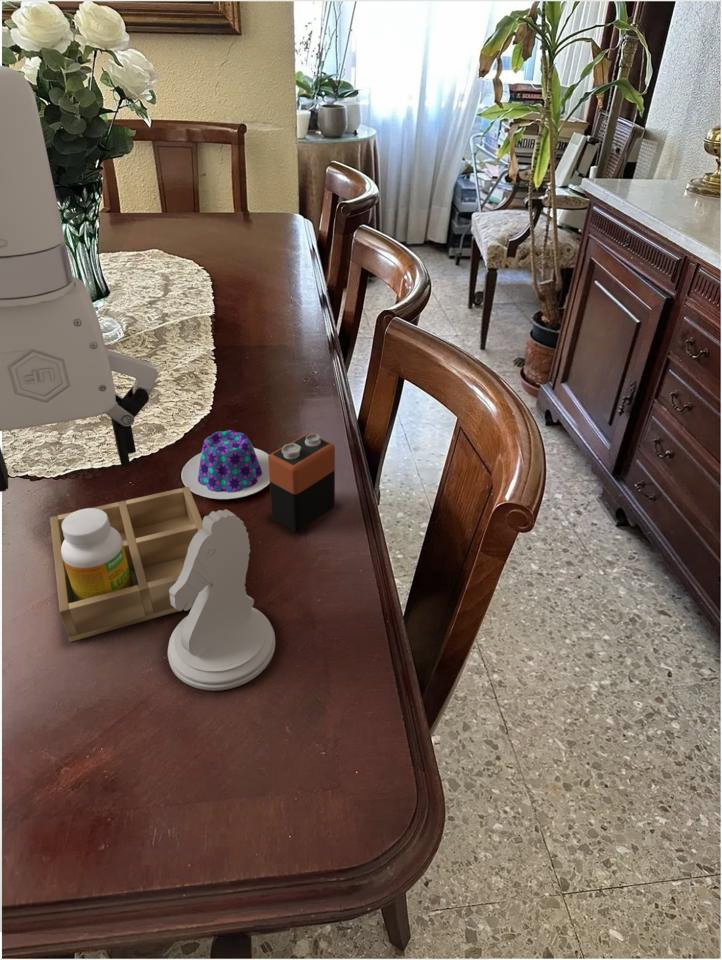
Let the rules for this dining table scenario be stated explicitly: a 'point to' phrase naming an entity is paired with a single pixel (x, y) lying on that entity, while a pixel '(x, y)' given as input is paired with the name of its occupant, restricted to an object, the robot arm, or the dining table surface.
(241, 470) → the pudding
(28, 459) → the dining table surface
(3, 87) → the robot arm
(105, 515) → the supplement bottle
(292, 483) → the battery
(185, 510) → the grid
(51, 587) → the dining table surface
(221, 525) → the chess piece
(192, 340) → the dining table surface
